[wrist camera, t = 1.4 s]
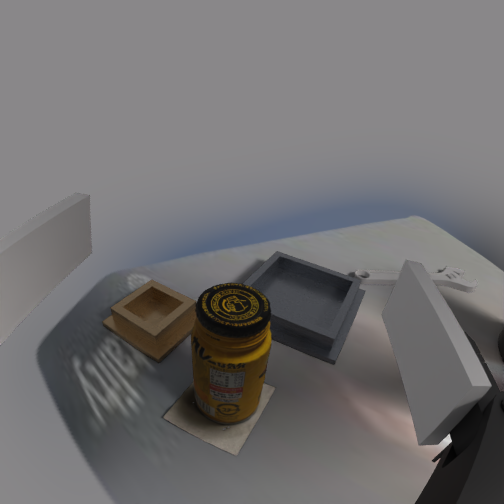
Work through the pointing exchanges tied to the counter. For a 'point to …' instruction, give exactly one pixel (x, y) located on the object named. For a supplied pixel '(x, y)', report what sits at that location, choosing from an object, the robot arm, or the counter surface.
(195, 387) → the condiment
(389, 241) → the counter surface
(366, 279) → the adjustable wrench
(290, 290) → the large collar
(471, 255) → the counter surface
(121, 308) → the small brown compartment box
